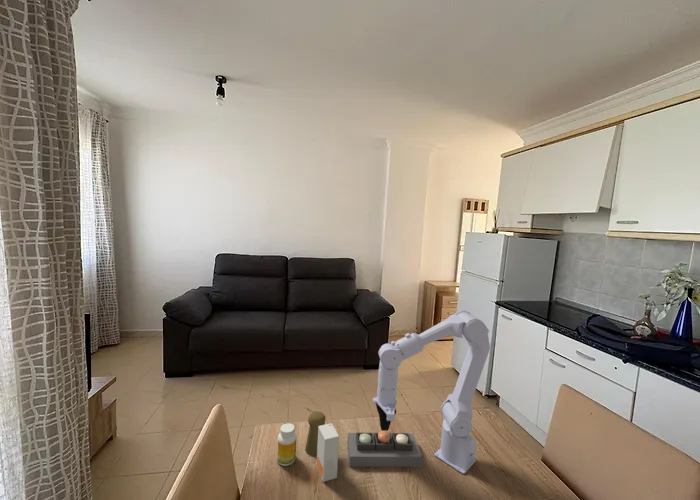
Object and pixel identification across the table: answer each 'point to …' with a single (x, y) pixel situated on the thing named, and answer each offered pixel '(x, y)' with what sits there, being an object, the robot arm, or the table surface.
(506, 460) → the table surface
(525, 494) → the table surface
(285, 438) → the supplement bottle
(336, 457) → the skincare box
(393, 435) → the charcoal button panel
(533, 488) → the table surface
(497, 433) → the table surface
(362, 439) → the sage button
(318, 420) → the olive pepper mill
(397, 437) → the cream button
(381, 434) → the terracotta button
